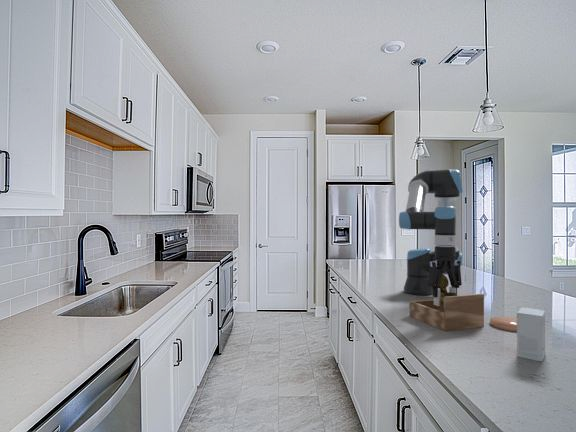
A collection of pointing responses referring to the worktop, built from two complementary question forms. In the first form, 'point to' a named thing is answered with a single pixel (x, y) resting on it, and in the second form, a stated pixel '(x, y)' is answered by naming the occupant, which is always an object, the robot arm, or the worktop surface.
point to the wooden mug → (444, 292)
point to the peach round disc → (504, 323)
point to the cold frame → (451, 312)
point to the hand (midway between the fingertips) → (444, 304)
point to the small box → (531, 334)
